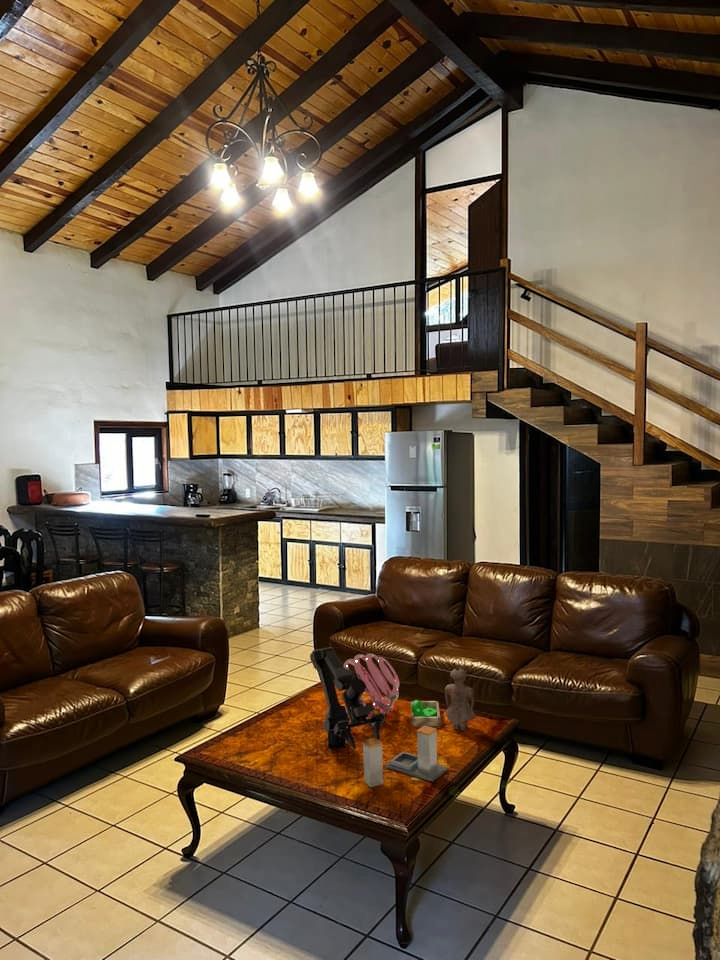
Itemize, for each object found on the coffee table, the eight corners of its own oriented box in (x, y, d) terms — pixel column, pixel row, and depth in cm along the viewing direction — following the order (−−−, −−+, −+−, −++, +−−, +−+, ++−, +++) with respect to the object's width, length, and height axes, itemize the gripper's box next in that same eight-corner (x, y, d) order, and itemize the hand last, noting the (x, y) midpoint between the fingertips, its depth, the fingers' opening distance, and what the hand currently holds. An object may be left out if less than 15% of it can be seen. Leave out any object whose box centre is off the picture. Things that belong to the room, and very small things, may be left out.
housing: (385, 767, 259) (384, 725, 258) (400, 756, 267) (399, 715, 266) (432, 782, 247) (431, 738, 246) (446, 770, 255) (445, 727, 254)
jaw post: (363, 781, 249) (362, 740, 248) (377, 777, 252) (375, 737, 251) (370, 787, 245) (368, 746, 244) (383, 784, 247) (382, 743, 246)
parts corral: (411, 726, 294) (411, 717, 294) (411, 708, 312) (410, 701, 312) (440, 725, 293) (440, 717, 293) (438, 708, 311) (438, 701, 311)
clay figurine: (478, 725, 292) (477, 666, 291) (471, 735, 284) (470, 674, 282) (449, 720, 298) (448, 663, 296) (441, 730, 289) (439, 670, 287)
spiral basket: (314, 678, 299) (366, 643, 295) (335, 672, 325) (383, 640, 321) (348, 738, 290) (402, 703, 286) (367, 727, 317) (416, 694, 313)
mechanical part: (422, 724, 297) (422, 705, 296) (411, 720, 301) (411, 702, 300) (439, 715, 306) (439, 697, 305) (428, 711, 310) (427, 693, 309)
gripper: (335, 700, 251) (349, 742, 242) (382, 690, 259) (397, 731, 250) (328, 714, 259) (340, 755, 250) (373, 704, 267) (387, 744, 257)
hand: (367, 746), depth 251 cm, fingers open, 9 cm apart
